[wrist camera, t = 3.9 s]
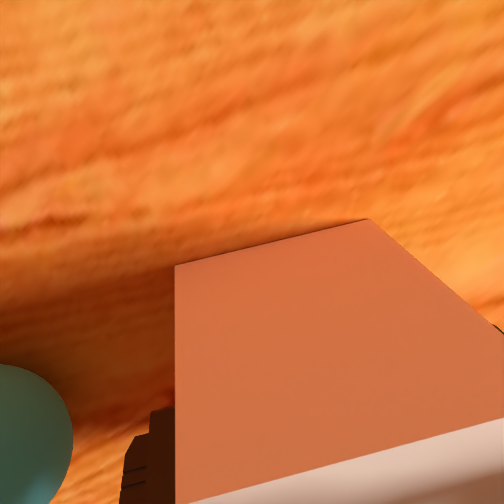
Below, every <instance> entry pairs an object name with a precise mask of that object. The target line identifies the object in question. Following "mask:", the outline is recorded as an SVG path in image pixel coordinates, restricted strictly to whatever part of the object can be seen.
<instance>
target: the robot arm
mask: <svg viewBox="0 0 504 504" xmlns="http://www.w3.org/2000/svg"><path fill="white" fill-rule="evenodd" d="M492 325H493V324H492ZM493 326H494V327H495V328H496V329H498V330H499V331H500V332H501V333H502V334H503V335H504V333H503V332H502V331H501V330H500V329H499V328H498V327H497V326H495V325H493ZM119 504H175V405H174V406H170V407H167V408H163V409H159V410H155V411H152V412H151V414H150V425H149V433H146V434H143V435H139V436H135V437H134V439H133V441H132V443H131V445H130V446H129V448H128V450H127V452H126V454H125V460H124V468H123V476H122V483H121V491H120V499H119Z"/></svg>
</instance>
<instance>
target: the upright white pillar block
mask: <svg viewBox="0 0 504 504" xmlns="http://www.w3.org/2000/svg"><path fill="white" fill-rule="evenodd" d="M175 504H504V335H503V334H502V333H501V332H500V331H499V330H498V329H496V328H495V327H494V326H493V325H492V324H491V323H489V322H488V321H487V320H486V319H485V318H484V317H483V316H481V315H480V314H479V313H478V312H477V311H476V310H474V309H473V308H472V307H471V306H470V305H469V304H468V303H466V302H465V301H464V300H463V299H462V298H461V297H459V296H458V295H457V294H456V293H455V292H454V291H453V290H451V289H450V288H449V287H448V286H447V285H446V284H444V283H443V282H442V281H441V280H440V279H439V278H438V277H436V276H435V275H434V274H433V273H432V272H431V271H429V270H428V269H427V268H426V267H425V266H424V265H423V264H421V263H420V262H419V261H418V260H417V259H416V258H414V257H413V256H412V255H411V254H410V253H409V252H408V251H406V250H405V249H404V248H403V247H402V246H401V245H400V244H398V243H397V242H396V241H395V240H394V239H393V238H391V237H390V236H389V235H388V234H387V233H386V232H385V231H383V230H382V229H381V228H380V227H379V226H378V225H376V224H375V223H374V222H373V221H372V220H371V219H366V220H362V221H358V222H354V223H350V224H346V225H341V226H337V227H333V228H329V229H325V230H321V231H317V232H312V233H308V234H304V235H300V236H296V237H292V238H287V239H283V240H279V241H275V242H271V243H267V244H263V245H258V246H254V247H250V248H246V249H242V250H238V251H233V252H229V253H225V254H221V255H217V256H213V257H209V258H204V259H200V260H196V261H192V262H188V263H184V264H179V265H175Z"/></svg>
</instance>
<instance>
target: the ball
mask: <svg viewBox="0 0 504 504" xmlns="http://www.w3.org/2000/svg"><path fill="white" fill-rule="evenodd" d="M72 450H73V428H72V422H71V418H70V415H69V412H68V409H67V407H66V405H65V403H64V401H63V399H62V398H61V396H60V395H59V394H58V392H57V391H56V390H55V389H54V388H53V387H52V386H51V385H50V384H49V383H48V382H47V381H45V380H44V379H43V378H41V377H40V376H38V375H37V374H35V373H33V372H30V371H28V370H26V369H23V368H20V367H16V366H12V365H5V364H0V504H49V503H50V501H51V500H52V499H53V497H54V496H55V494H56V493H57V491H58V490H59V488H60V486H61V484H62V482H63V480H64V478H65V476H66V473H67V470H68V467H69V464H70V461H71V456H72Z"/></svg>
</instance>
